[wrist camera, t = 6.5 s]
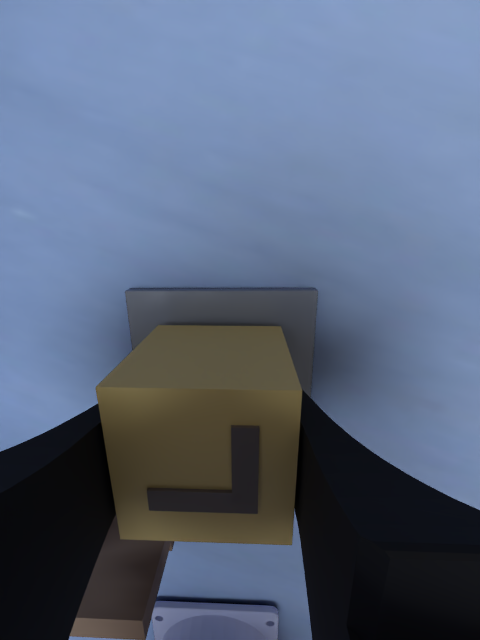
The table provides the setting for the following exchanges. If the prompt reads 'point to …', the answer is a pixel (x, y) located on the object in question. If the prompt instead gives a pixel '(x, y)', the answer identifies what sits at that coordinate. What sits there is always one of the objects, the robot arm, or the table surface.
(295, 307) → the coaster
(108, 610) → the wooden board
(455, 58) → the table surface
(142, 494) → the cube
